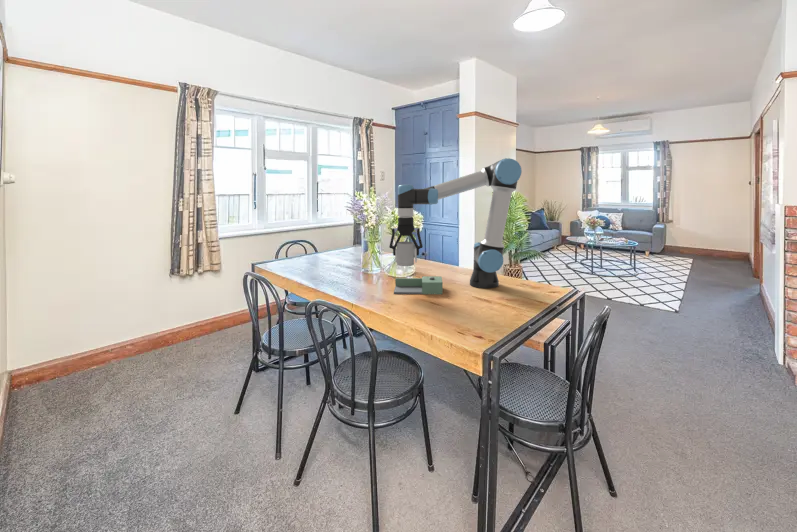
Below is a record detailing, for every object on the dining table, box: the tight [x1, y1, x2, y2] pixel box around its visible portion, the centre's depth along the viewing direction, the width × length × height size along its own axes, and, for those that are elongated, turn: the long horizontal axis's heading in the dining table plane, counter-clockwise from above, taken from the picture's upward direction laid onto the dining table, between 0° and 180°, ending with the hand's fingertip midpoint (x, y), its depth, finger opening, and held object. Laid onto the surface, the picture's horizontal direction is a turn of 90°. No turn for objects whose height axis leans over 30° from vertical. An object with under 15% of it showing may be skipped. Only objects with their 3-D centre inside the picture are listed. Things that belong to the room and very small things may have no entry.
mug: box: [396, 241, 417, 267], centre depth 195 cm, size 12×8×11 cm
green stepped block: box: [393, 275, 444, 295], centre depth 198 cm, size 24×13×7 cm, turn 86°
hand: (406, 261), depth 196 cm, fingers closed on mug, 9 cm apart
